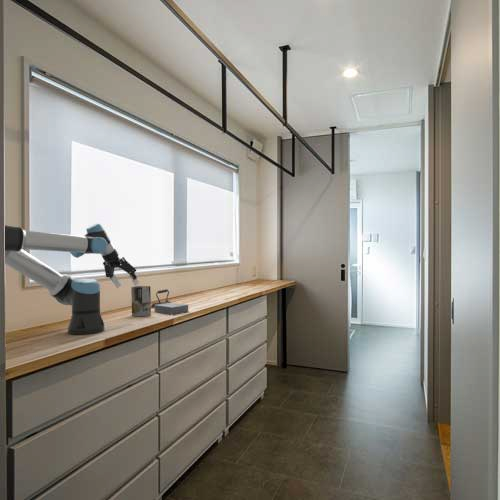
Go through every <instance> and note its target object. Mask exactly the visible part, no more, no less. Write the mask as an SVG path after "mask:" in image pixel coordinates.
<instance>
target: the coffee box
mask: <svg viewBox="0 0 500 500" xmlns="http://www.w3.org/2000/svg"><path fill="white" fill-rule="evenodd" d="M130 288H131V289H130V290H131V293H130V294H131V316H133V317H134V316H135V317H136V316H137V317H138V316H139V317H146V316H151V315H152V310H151V309H152V308H151V305H152V304H151V303H152V302H151V298H152V297H151V286H150V285H137V286H135V285H134V286H131V287H130Z"/></svg>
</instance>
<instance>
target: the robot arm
mask: <svg viewBox="0 0 500 500" xmlns="http://www.w3.org/2000/svg"><path fill="white" fill-rule="evenodd" d="M4 225H5V263H4V264H5V265H7V266H8V267H10V268H11V269H13V270H15V271H17V272H18V273H20V274H21V275H23V276H24V277H26V278H28V279H30V280H31V281H33V282H35V283H36V284H38V285H40V286H41V287H43V288H45V289H46V290H48V293H49V296H50V297H53V298H54V299H55V300H56V301H57V302H58V303H60V304H61V305H65V306H70V307H71V317H70V320H69V323H68V327H67V333H68V334H69V335H74V336H75V335H76V336H77V335H81V336H82V335H91V334H96V333H101V332H103V331H104V330H105V323H104V320H103V317H102V314H101V285H100V281H99V280H97V279H94V278H85V277H84V278H74V277H72V276H70V275H69V274H67V273H63V274H61V273H60V272H58V271H57V270H55V269H53V268H52V267H50V266H49V265H48V264H46V263H44V262H43V261H41V260H39V259H38V258H37V257H35V256H33V255H32V254H30V253H29V252H27V251H26V250H29V251H30V250H32V251H45V252H47V251H49V252H64V253H70V255H72V257H74V258H77V259H78V258H80V257H83V256H84V255H89V254H93V255H94V254H96V255H101V257H102V259H103V262H102V265H103V266H104V273H105V277H106V278H109V279H110V280H111V281H112V283H113V284H114V286H115V288H117V289H118V288H120V287H121V282H120V281H119V279H118V278H117V276H116V275H115V269H116V268H117V269H121V270H123V272H125V273H127V274H129V278H130V280H131V281H132V282H133V284H134V287H135V286H139V284H140V282H139V279H138V277H137V275H136V272H137V268H135V267H134V266H133V265H131V263H129V262H128V261H127V260H126V258H125V257H123V256H122V257H121V258H120V257H119V252H118V251H117V250H116V249H115V246H114V245H113V244H114V243H113V242H112V240H111V239H110V237H109V235H108V233H107V232H106V230H105V228H104V226H103V225H102V223H100V222H99V223H98V222H97V223H93V224H91V225H89V226H88V227H87V228H86V229H85V230H86V234H84V235H75V234H66V233H65V234H64V233H55V232H45V231H35V230H34V231H33V230H25V229H24V228H23V227H18V226H12V225H6V224H4Z"/></svg>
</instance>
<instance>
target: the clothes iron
mask: <svg viewBox="0 0 500 500" xmlns="http://www.w3.org/2000/svg"><path fill="white" fill-rule="evenodd" d="M164 293H167V294H166V299H165V300H164V301H161V300H160V298H159V296H158V294H164ZM169 294H170V290H169V289H167V288H166V289H162V290H161V289H160V290H158V291H156V294H155V296H156V298H157V300H158V302H153V303H152V304H151V309H152V308H154V309H155V305H158V304H165V303H172V302H171V301H168V297H169Z"/></svg>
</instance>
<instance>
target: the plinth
mask: <svg viewBox="0 0 500 500" xmlns="http://www.w3.org/2000/svg"><path fill="white" fill-rule="evenodd" d="M186 311H188V312H189V304H185V303H177V302H171V303H165V304H158V305H155V308H154V313H161V314H164V315H165V314H167V315H171V314H172V315H177V314H176V313H178V314H182V313H181V312H184V313H187V312H186Z"/></svg>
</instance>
